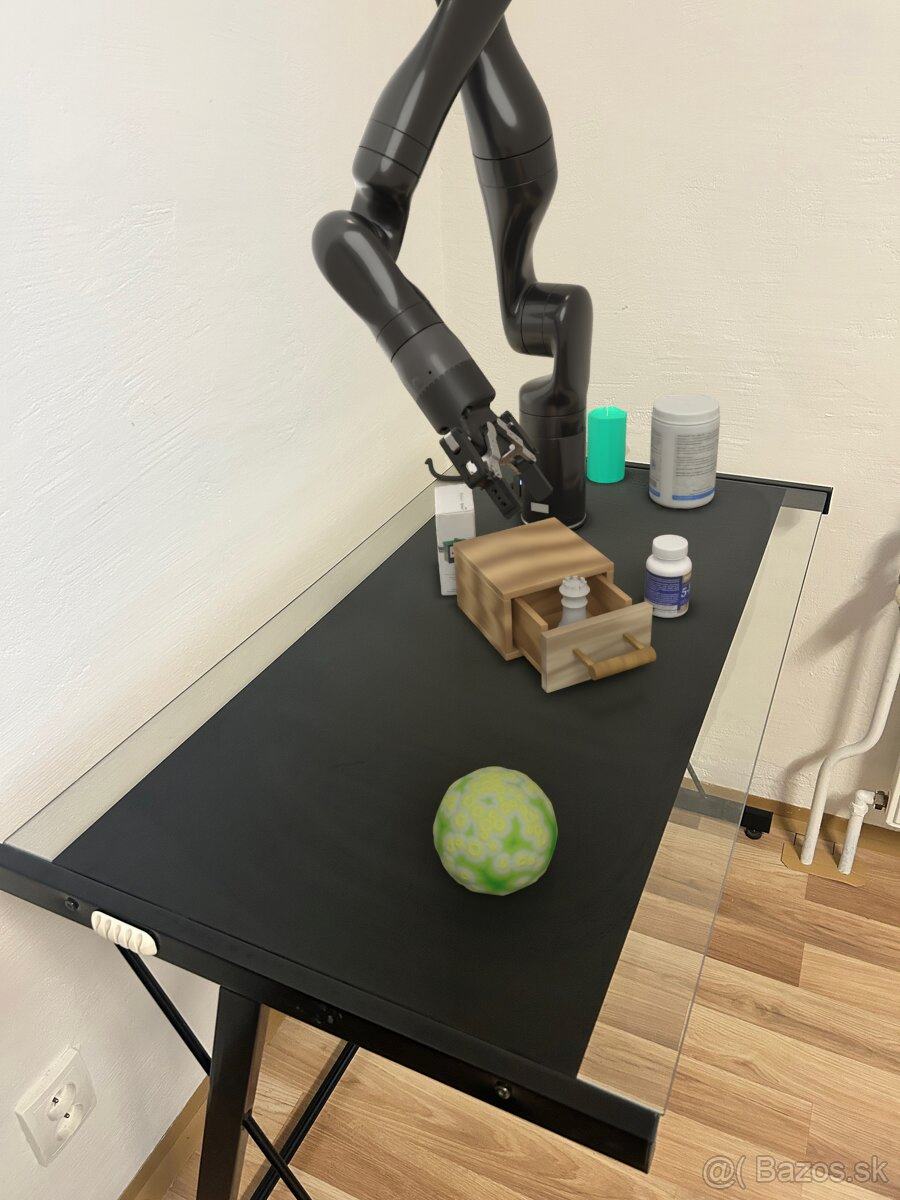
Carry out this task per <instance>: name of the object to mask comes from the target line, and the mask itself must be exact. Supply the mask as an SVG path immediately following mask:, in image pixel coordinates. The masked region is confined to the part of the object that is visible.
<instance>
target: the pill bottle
mask: <svg viewBox="0 0 900 1200" xmlns="http://www.w3.org/2000/svg"><path fill="white" fill-rule="evenodd" d="M651 550H652V552H651V555H649V556H648V558H647V559H646V562H645V577H644V579H645V581H644V595H643V598H644V599H643V602H645V601H647V602H648V603H649V604H651V605H652V606H653V610H652V616H655V617H657V618H663V619H672V618H678V617H681V616H683V615H684V614H685V613H687V612H688V610H689V605H690V592H691V581H692V580H691V579H692V571H693V563H692V561H691V559H690V557H689V556H688V552H689V542H688V540H687V539H686V538H685V537H683V536H680V535H677V534H663V535H658V536H657V537H655V538H653V540H652V546H651Z"/></svg>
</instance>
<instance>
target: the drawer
mask: <svg viewBox="0 0 900 1200" xmlns="http://www.w3.org/2000/svg"><path fill="white" fill-rule="evenodd" d="M579 580H580V579H579ZM585 581H586V584H587V585H588V586H589V588H590V592H589V593H588V594H587V595H586V596H585V597H586V599H587V600H588V602H587V604H586V615H587V619H585V620H582V621H578V622H575V623H572V624H568V625H565V626H562V627H558V625H559V622H560V621H561V619H562V614H563V604H562V603H561V600H562V599H563V595H562V594H561V593H560V591H559V587H560V586H561V585H558V586H555V587H551V588H548V589H544V590H541V591H537V592H533V593H530V594H526V595H523V596H519V597H516V598H512V599H511V615H512V642H513V644H514V645H515V646H516V647H517V648H518V649H519V651H520V652H521V653H522V654H523V655H524V656H523V657H525V658H526V660H527V661H529V663H530V664H531V665H532V666H533V667H534V668H535V670H537V672H539V673H540V675H541V688H542V689H543V690H544V692H546V694H549V693H551V692H552V693H553V692H555V691H558V690H561V689H565V688H567V687H570V686H571V687H572V686H574V685H576V684H581V683H584V682H586V681H589V680H592V681H594V682H595V681H597V680H598V681H599V680H601V679H604V678H607V677H610V676H614V675H616V674H619V673H622V672H623V673H624V672H626V671H628V670H632V669H635V668H638V667H642V666H644V665H647V664H651V663H653V662H655V661H657V653H656V650H655V648H654V647H652V646H651V642H652V641H651V640H652V625H653V615H652V610H653V606H652V605H651V604H649V603H648V602H647V601H645V602H644V601H642V602H639V603H635V604H633V598H631V596H629V595H628V594H627V593H625V592H624V591H623V590H622V589H620V587H618V586H617V585H616V584H614V582H613V583H612V582H610V581H609V580H608V579H607V578H605V577H604V576H603V575H602V574H597V575H594V576H590V577H587V578H585ZM557 627H558V628H557Z"/></svg>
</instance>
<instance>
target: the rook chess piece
mask: <svg viewBox="0 0 900 1200" xmlns="http://www.w3.org/2000/svg"><path fill="white" fill-rule="evenodd" d="M559 591H560V593H561V594H562V595H563V599H562V600H561V603H562V604H563V614H562V619H561V621H560V622H559V625H558V627H562V626H565V625H568V624H572V623H575V622H578V621H582V620H585V619H587V615H586V604H587V602H588V600H587V599H586V597H585V596H586V595H587V594H588V593H589V592H590V588H589V586H588V585H587V584H586V581H585V578H583V577H581V578H580V580H578V576H573V579H572V580H570V577H569V576H568V577H566V578H565V580H563V584H562V585H561V586H560V587H559ZM558 627H557V628H558Z"/></svg>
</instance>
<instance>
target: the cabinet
mask: <svg viewBox="0 0 900 1200" xmlns="http://www.w3.org/2000/svg"><path fill="white" fill-rule="evenodd" d="M453 548H454V561H455V575H456V588H457V595H456V599H457V600H456V601H457V606H458V607H459V609H460V610H461V611H462V612H463V613H464V615H466V617H467V618H468V619H469V620H470V621H471V622H472V624H474V626H475V627H476V628H477V629H478V631H480V633H481V634H482V635H483V636H484V637H485V639H487V641H488V642H489V643H490V644H491V646H493V647H494V649H495V650H496V651H497V652H498V653H499V654H500V656H502V658H503V659H504V660H505V661H506V662H508V661H511V660H513V659H517V658H520V657H521V658H522V657H525V656H524V655H523V654H522V653H521V652H520V651H519V649H518V648H517V647H516V646H515V645H514V644H513V642H512V615H511V599H512V598H516V597H519V596H523V595H526V594H530V593H533V592H537V591H541V590H544V589H548V588H551V587H555V586H558V585H562V584H563V580H565V578H566V577H568V576H569V577H570V580H572V579H573V576H578V580H579V579H580V578H581V577H583V578H587V577H590V576H594V575H597V574H602V575H603V576H604V577H605V578H607V579H608V580H609V581H610V582H612V583H613V584H614V576H615V575H614V574H615V563H614V562H613V561H612V560H610V559H609V558H608V557H607V556H605V555H604V554H603V553H602V552H601V551H599V550H597V548H595V547H594V546H593V545H591V544H590V543H589V542H587V541H586V540H585V539H583V538H582V537H581V536H579V535H578V534H577V533H576V532H575V531H574V530H570V529H569V528H568V527H566V526H565V525H564V524H563V523H561V522H560V521H559V520H557V519H556V518H555V517H553V518H549V519H545V520H541V521H538V522H534V523H530V524H526V525H523V524H522V525H517V526H515V527H510V528H506V529H503V530H499V531H494V532H491V533H487V534H482V535H479V536H476V537H475V538H471V539H467V540H463V541H459V542H455V543H453Z"/></svg>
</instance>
